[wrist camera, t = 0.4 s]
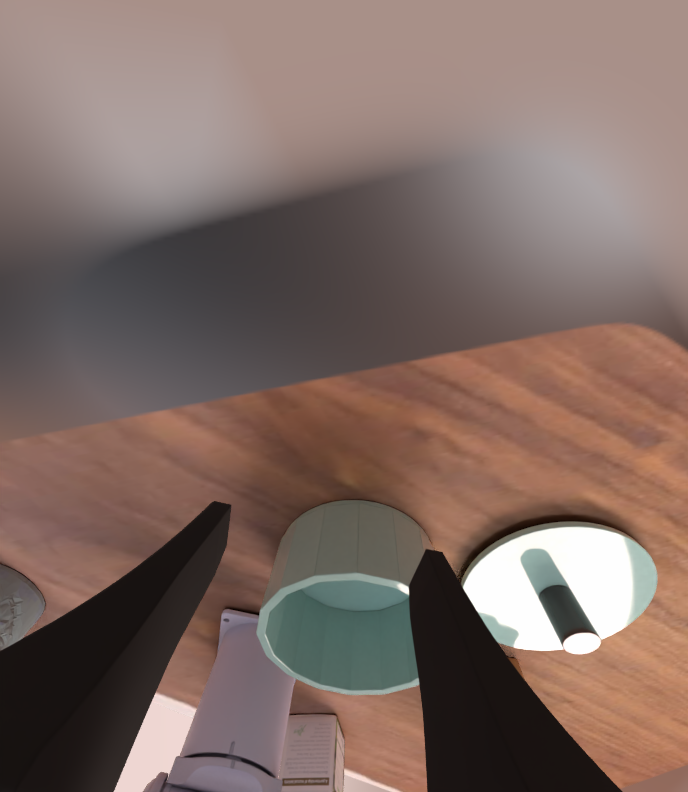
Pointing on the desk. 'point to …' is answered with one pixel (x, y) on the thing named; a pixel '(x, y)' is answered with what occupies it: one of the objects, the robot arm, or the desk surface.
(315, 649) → the pot
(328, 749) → the syrup box
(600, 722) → the desk surface
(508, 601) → the lid
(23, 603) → the drinking glass
